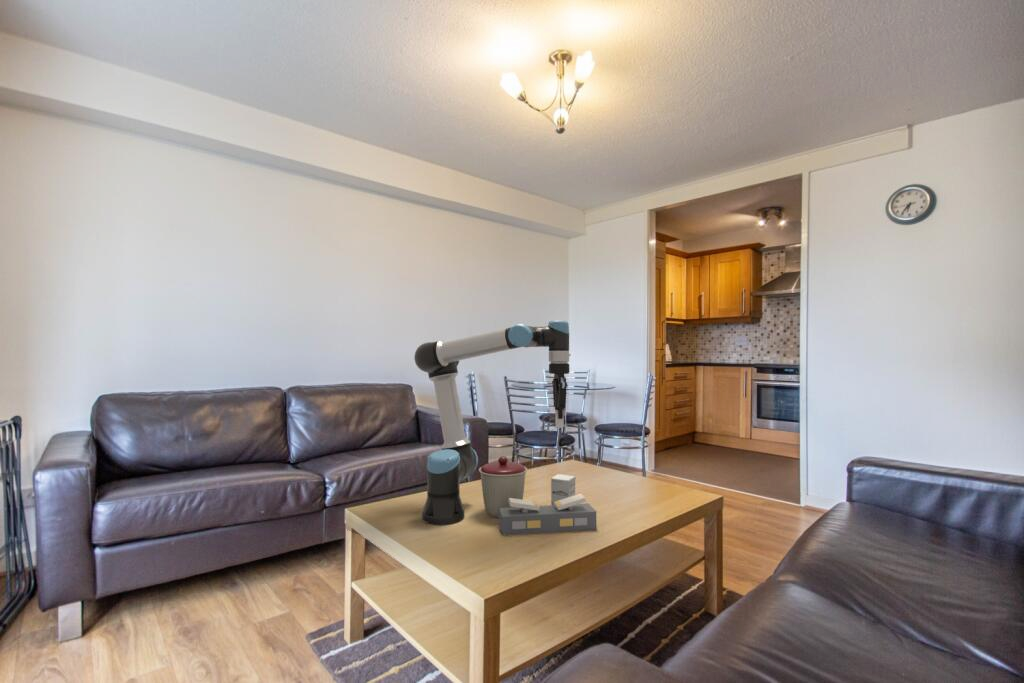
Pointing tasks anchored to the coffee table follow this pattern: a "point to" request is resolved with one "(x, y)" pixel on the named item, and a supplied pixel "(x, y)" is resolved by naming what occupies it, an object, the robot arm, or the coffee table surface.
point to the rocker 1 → (523, 504)
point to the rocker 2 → (569, 501)
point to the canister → (501, 484)
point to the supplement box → (562, 487)
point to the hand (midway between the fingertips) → (559, 427)
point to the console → (546, 519)
